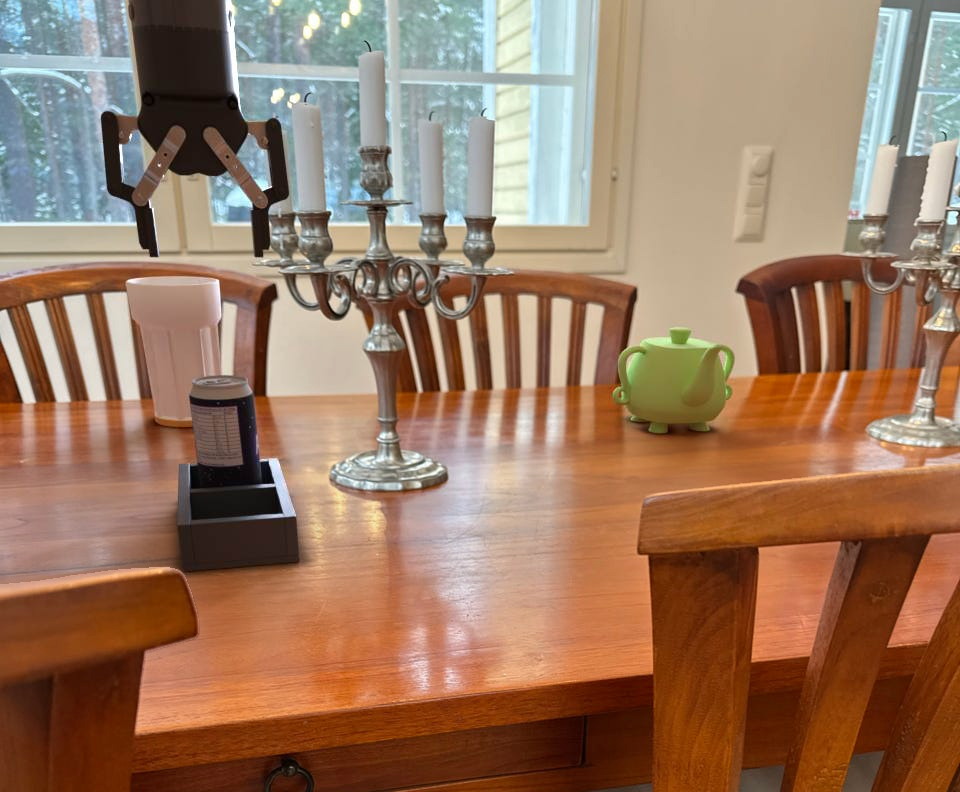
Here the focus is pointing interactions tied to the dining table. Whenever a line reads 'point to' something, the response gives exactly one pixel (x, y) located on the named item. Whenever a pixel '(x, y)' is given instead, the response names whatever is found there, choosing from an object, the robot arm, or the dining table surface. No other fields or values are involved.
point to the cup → (176, 338)
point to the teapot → (674, 381)
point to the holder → (236, 521)
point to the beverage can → (225, 431)
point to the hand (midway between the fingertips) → (207, 256)
